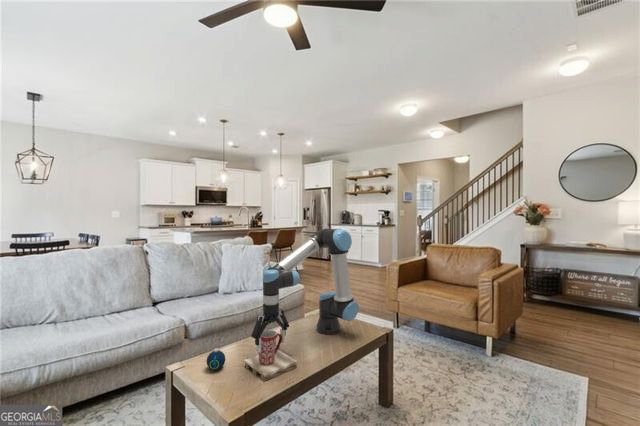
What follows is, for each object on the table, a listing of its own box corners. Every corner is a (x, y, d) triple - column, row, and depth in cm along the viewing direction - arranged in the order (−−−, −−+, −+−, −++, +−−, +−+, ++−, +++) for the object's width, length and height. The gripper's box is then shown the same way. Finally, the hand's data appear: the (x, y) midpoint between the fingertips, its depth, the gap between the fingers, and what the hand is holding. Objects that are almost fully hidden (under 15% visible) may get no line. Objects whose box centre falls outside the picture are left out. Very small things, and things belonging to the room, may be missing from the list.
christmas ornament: (202, 372, 142) (202, 350, 142) (213, 363, 150) (213, 343, 150) (218, 374, 140) (218, 353, 139) (228, 365, 148) (228, 345, 148)
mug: (262, 368, 139) (263, 338, 139) (253, 360, 146) (254, 332, 146) (286, 360, 147) (287, 332, 147) (276, 353, 154) (276, 326, 154)
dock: (275, 354, 160) (275, 348, 159) (297, 367, 146) (297, 361, 146) (244, 366, 147) (244, 360, 147) (265, 381, 134) (265, 375, 134)
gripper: (287, 296, 158) (287, 336, 158) (243, 306, 141) (243, 352, 141) (296, 299, 152) (296, 341, 153) (252, 310, 135) (252, 358, 136)
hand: (271, 347), depth 147 cm, fingers open, 13 cm apart
